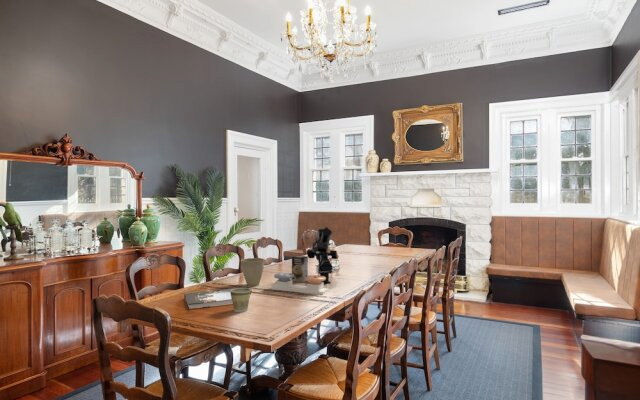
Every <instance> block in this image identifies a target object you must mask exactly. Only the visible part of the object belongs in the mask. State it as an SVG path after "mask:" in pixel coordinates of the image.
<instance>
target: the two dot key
mask: <svg viewBox="0 0 640 400" xmlns="http://www.w3.org/2000/svg"><path fill="white" fill-rule="evenodd" d="M273 277H274V278H275V279H277V280H279V281H283V282H287V281H289V280H291V279H292V278H293V277H294V274H292V272H279V273H275V274H274V275H273Z"/></svg>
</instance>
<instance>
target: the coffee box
mask: <svg viewBox="0 0 640 400" xmlns="http://www.w3.org/2000/svg"><path fill="white" fill-rule="evenodd" d="M308 259H309V258H308V255H307V256H306V255H305V256H304V255H294V256H292V257H291V273H292V274H294V277H293V278H291V280H292V282H297V283H299V282H300V283H305V282H307V281H306V280H305V277H307V276H309V274H308V272H309V271H308V270H309V269H308V268H309V265H308V262H309V261H308Z"/></svg>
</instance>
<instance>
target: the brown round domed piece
mask: <svg viewBox="0 0 640 400" xmlns="http://www.w3.org/2000/svg"><path fill="white" fill-rule="evenodd" d="M305 280H306V281H305V282H309V283H310V284H316V285H318V284H320V283H321V281H324V280H326V277H324V276H320V275H316V274H315V275H308V276H307V277H305Z"/></svg>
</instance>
